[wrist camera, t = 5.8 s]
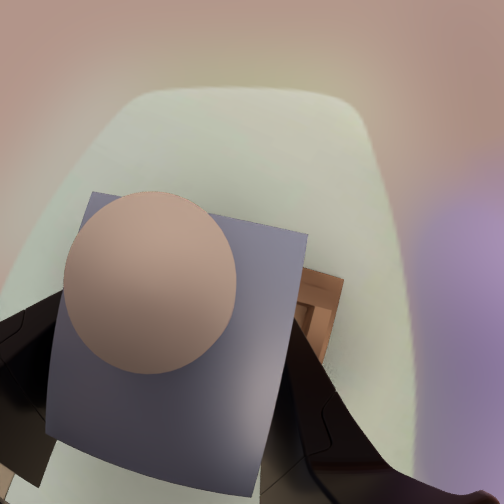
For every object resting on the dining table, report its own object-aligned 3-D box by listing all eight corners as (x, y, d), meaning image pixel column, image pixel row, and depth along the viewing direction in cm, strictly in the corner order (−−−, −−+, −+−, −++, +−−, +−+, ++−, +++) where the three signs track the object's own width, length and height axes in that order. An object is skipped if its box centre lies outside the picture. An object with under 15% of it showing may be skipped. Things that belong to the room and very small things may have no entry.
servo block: (235, 417, 14) (244, 584, 3) (144, 395, 14) (4, 498, 3) (267, 265, 16) (343, 135, 5) (176, 246, 16) (79, 98, 5)
